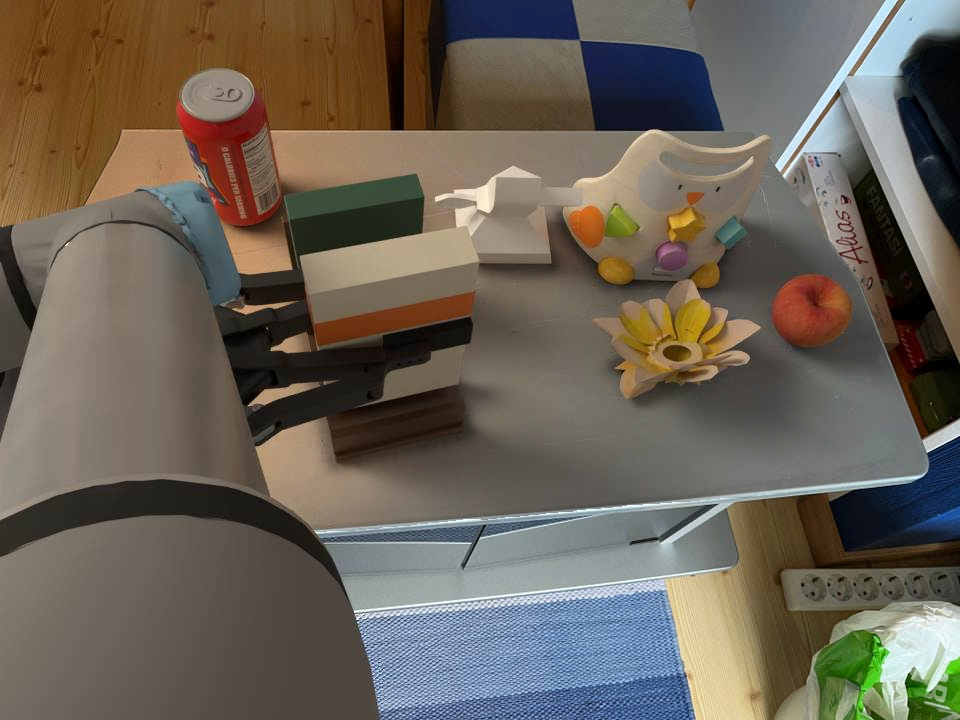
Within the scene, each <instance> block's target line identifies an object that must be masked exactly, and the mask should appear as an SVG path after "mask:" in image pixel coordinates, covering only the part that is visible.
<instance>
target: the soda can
mask: <svg viewBox="0 0 960 720" xmlns="http://www.w3.org/2000/svg"><path fill="white" fill-rule="evenodd" d="M176 116H177V120H178V124H179V127H180V129H181V132H182V134H183V138H184V141H185V144H186V147H187V150H188V152H189V155H190V159H191V161H192V165H193V168H194V170H195V173H196V176H197V179H198V183H199V184H201V185H202V186H204V187H205V188H206V189H207V191H208V192H209V194H210V196H211V199H212V202H213V205H214V207H215V209H216V211H217V214H218V217H219V219H220V221H221V222H224V223H226V224H228V225H232V226H241V227H242V226H243V227H244V226H245V227H246V226H251V225H252V226H253V225H257V224H260V223H262V222H264V221H266V220H268V219H269V218H271V217H272V216H273V215H274V214H275V213H276V212H277V210H278V209H279V207H280V205H281V202H282V199H283V189H282V184H281V178H280V172H279V168H278V163H277V157H276V153H275V147H274V143H273V138H272V133H271V128H270V122H269V118H268V112H267V108H266V103H265V99H264V97H263V96H262V94H261V92H260V91H259V90H258V88H256V87H255V86H254V85H253V83H252V82H251V80H250V79H249V78H248V77H247V76H246V75H244V74H243V73H241V72H239V71H237V70H233V69H229V68H223V67H222V68H221V67H216V68H215V67H214V68H208V69H204V70H201V71H197V72H196V73H194V74H192V75H191V76H190V77H188V78H187V79H186V80H185V81H184V82H183V84H182V85H181V88H180V90H179V98H178V100H177V103H176Z"/></svg>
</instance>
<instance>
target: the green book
mask: <svg viewBox="0 0 960 720" xmlns="http://www.w3.org/2000/svg"><path fill="white" fill-rule="evenodd" d="M418 176H419V175H418V174H417V173H410V174H406V175H398V176H393V177H386V178H380V179H373V180H368V181H361V182H356V183H350V184H343V185H337V186H331V187H325V188H319V189H313V190H307V191H300V192H295V193H288V194H284V195H283V200H284V201H283V202H284V206H285V211H286V215H287V216H288V221H289V226H290V231H291V236H292V241H293V246H294V252H295V257H296V262H297V267H298V269H302V266H301V261H300V256H301V255H307V254H312V253H318V252H323V251H329V250H334V249H340V248H345V247H351V246H356V245H362V244H367V243H373V242H378V241H384V240H389V239H395V238H401V237H406V236H412V235H417V234H423V233H424V215H425V213H424V212H425V198H426V197H425V194H424V191H423V188H422V185H421V182H420V179H419V177H418Z"/></svg>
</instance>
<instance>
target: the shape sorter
mask: <svg viewBox="0 0 960 720" xmlns="http://www.w3.org/2000/svg"><path fill="white" fill-rule="evenodd" d="M773 145H774V139H773V138H772V137H770V136H769V135H767V134H763V135H760V136H759V137H756V138H755V139H753V140H751V141H749V142H748V143H746V144H743V145H739V146H735V147H734V146H733V147H721V148H720V147H705V146H700V145H699V146H698V145H694V144H691V143H689V142H685V141H683V140H681V139H679V138H677V137H676V136H675V135H672V134H670V133H668V132H666V131H663V130H660V129H649V130H647V131H645V132H644V133H642V134H641V135H640V136H639V137H637V138H636V139H635V140H634V141H633V142H632V143H631V144H630V146H629V147H628V148H627V150H626V151H625V152H624V153H623V155H622V157H621V160H619V162H618V163H617V165H615V167H614V168H612V169H611V170H610V171H609V172H607V173H605V174H603V175H601V176H598V177H597V176H596V177H583V178H580V179H578V180H576V182H575V183H574V184H573V185H572V187H571V188H583V202H582V206H574V207H567V206H563V209H562V216H563V220H564V222H565V225H566V227H567V229H568V231H569V232H570V234H571V236H572V238H573V239H574V241H575V242H576V243H577V244H578V246H579V247H580V248H581V249H582V251H584V253H585V254H587V255H588V257H589V258H591V259H592V260H593V261H594V262H596V263H597V264H598V266H597V271H598V272H599V275H600V276H601V278H602V279H603V280H605V281H607V282H608V283H611V284H613V285H620V286H621V285H625V284H630V283H631V282H632V281H633V280H638V281H639V280H640V281H663V282H664V281H665V282H678V281H681V280H687V279H689V280H693V282H694V284H695V286H696V288H699V289H710V288H712V287H714V286H716V285H717V284H718V283H719V281H720V276H721V273H720V269H719V266H718V263H719V262H720V261H721V259H722V257H723V256H724V254H725V252H726V251H727V250H730V249H731V248H732V247H734V246H735V245H736V244H737V243H738V242H739V241H740V240H742V239H743V238H745V236H746V235H747V234H748V232H747V230H746V229H745V228H744V227H743V226H742V224H741V221H742V219H743V217H744V215H745V214H746V211H747V209H748V207H749V205H750V204H751V201H752V199H753V197H754V195H755V193H756V191H757V189H758V187H759V184H760V182H761V180H762V176H763V174H764V171H765V169H766V167H767V164H768V161H769V159H770V156H771V153H772V150H773ZM665 153H669V154H671V155H673V156H675V157H676V158H678V159H681V160H683V161H685V162H689V163H693V164H697V165H698V164H699V165H704V166H705V165H706V166H723V165H733V164H737V163H740V162H743V161H746V160H747V161H746V162H745V163H743V164H742V165H741V166H739V167H738V168H735V169H734V170H733V171H729V172H726V173H723V174H716V175H707V176H706V175H705V176H704V175H703V176H701V175H693V174H688V173H684V172H682V171H679V170H677V169H675V168H673V167H672V166H670V165H669V164H668V163H667V162H666V161H665V160H664V159H663V158H662V157H661V156H662V155H663V154H665Z"/></svg>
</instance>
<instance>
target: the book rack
mask: <svg viewBox="0 0 960 720" xmlns="http://www.w3.org/2000/svg"><path fill="white" fill-rule="evenodd" d="M280 218H281V219H280V220H281V223H282V229H283V233H284V238H285V240H286V241H285V243H286V247H287V252H288V257H289V261H290V265H291V270H293V269H298V267H297V262H296V257H295V252H294V246H293V241H292V236H291V231H290V226H289V221H288V216H287V214H285V215H281V216H280ZM305 335H306V338H307V343H308V347H309V351H318V350H317V345H316V339H315V334H314V329H313V330H310V331H308V332H305ZM323 385H324V381H323V382H317V387H319V386H323ZM466 409H467V406H466V402H465V399H460V400H456V398H455V395H454V392H453V389H452V386H447V387H443V388H439V389H434V390H430V391H426V392H421V393H417V394H413V395H408V396H404V397H400V398H395V399H391V400H387V401H382V402H378V403H374V404H369V405H365V406H361V407H356V408H352V409H349V410H345V411H342V412H339V413H336V414H333V415H329V416H326V417H325V421H326V425H327V429H328V434H329V439H330V442H331V446H332V451H333V456H334V460H335V463H340V462H345V461H348V460H352V459H356V458H360V457H364V456H368V455H369V456H370V455H373V454H377V453H380V452H384V451H388V450H393V449H396V448H400V447H401V448H402V447H405V446H409V445H413V444H417V443H421V442H426V441H429V440H434V439H437V438H441V437H446V436H449V435H453V434H457V433H462V432H463V430H464V418H465V414H466Z"/></svg>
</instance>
